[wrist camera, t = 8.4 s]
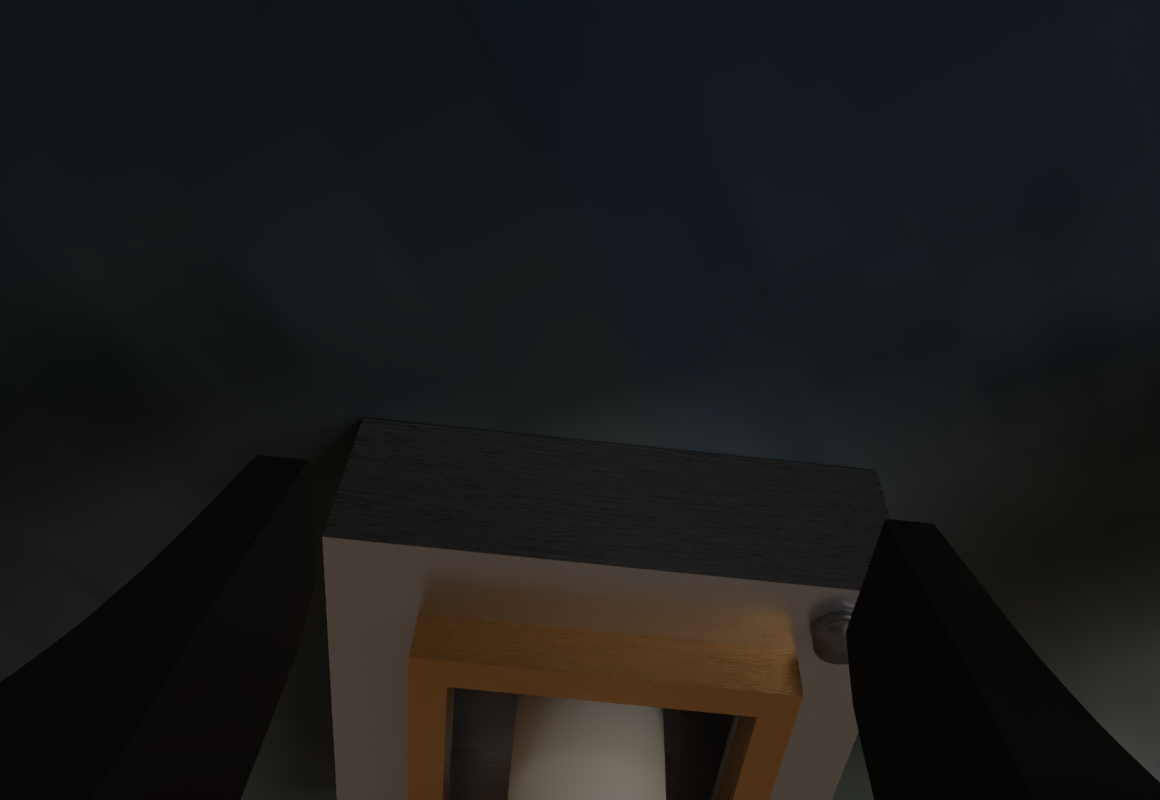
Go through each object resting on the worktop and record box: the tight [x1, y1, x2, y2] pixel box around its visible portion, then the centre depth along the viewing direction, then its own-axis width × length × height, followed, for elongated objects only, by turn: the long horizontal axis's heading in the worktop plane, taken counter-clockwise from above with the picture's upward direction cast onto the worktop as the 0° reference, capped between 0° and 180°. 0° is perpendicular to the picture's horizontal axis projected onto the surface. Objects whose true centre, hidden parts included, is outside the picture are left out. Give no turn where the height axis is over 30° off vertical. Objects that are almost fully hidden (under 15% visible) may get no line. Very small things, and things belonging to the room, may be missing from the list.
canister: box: [508, 694, 666, 800], centre depth 26 cm, size 4×4×7 cm
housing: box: [322, 418, 890, 800], centre depth 27 cm, size 12×12×5 cm
